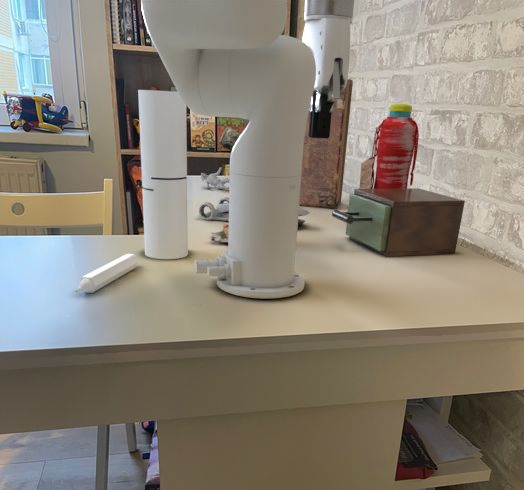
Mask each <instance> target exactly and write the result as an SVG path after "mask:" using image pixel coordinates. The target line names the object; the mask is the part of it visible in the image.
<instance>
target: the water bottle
mask: <svg viewBox="0 0 524 490" xmlns="http://www.w3.org/2000/svg"><path fill="white" fill-rule="evenodd" d="M412 111H413V106H412V105H410V104H408V103H399V102H398V103H393V104H390V106H389V115H388V116H386V118H385V119H383V120H382V121H381V123H380V124H379V125H378V126H377V127H375V128H374V129H375V132H374V136H373V144H372V150H371V156H370V157H369V158H367V159H366V160H364V161H363V162H361V163H360V172H359V173H360V175H359V188H358V189H408V183H409V186H411V187H412V186H413V184H414V183H413V182H414V171H415V169H416V162H417V158H418V157H417V156H418V149H419V138H420V133H419V126H418V123H417V122H416V121H415V120H414V119H413V117H411V115H412ZM375 161H376V169H375V168H374V167H375ZM411 165H412V166H411ZM410 169H411V171H410ZM409 177H410V180H409Z"/></svg>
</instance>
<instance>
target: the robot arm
mask: <svg viewBox="0 0 524 490" xmlns="http://www.w3.org/2000/svg"><path fill="white" fill-rule="evenodd" d="M140 5H141V12H142V16H143V20H144V24H145V27H146V30H147V32H148V35H149V37H150V39H151V41H152V44H153V46H154V48H155V50H156V51H157V54H158V55H159V57H160V59H161V62H162V64H163V65H164V68H165V69H166V72H167V73H168V75H169V77H170V79H171V82H172V84H173V85H174V88H175V89H176V92H178V93H179V95H180V97H181V98H182V100H183V102H184V103H185V104H186V108H188V109H189V110H190V111H192V112H193V113H195V114H197V115H201V116H205V117H218V118H236V119H242V120H243V119H248V120H250V121H249V123H248V125H247V127H246V128H245V130H244V131H242V133H240V137H239V138H238V140H237V141H236V143H235V145H234V147H233V149H232V152H231V151H230V156H229V179H230V183H228V185H229V186H228V187H229V190H228V198H229V221H228V224H229V236H228V242H227V243H228V244H227V245H228V246H227V250H222V251H221V252H222V253H221V256H216V258H215V259H207V258H206V259H194V262H193V269H194V270H193V271H194V273H195V275H199V274H200V275H201V274H207V277H208V278H211V277H216V285H217V287H218V288H219V289H220V290H222V291H224V292H226V293H228V294H231V295H234V296H237V297H243V298H251V299H263V300H265V299H267V300H268V299H270V300H271V299H282V298H289V297H291V296H295V295H298V294H299V293H301V292H302V291H303V290H304V289H305V283H306V282H305V278H304V277H303V276H302V275H301V274H299V273H297V272H295V270H296V258H297V257H296V256H297V255H296V254H297V244H298V243H297V242H298V228H299V224H298V219H299V216H298V215H299V207H300V206H299V200H300V186H301V171H302V157H303V146H304V138H305V130H306V124H307V118H308V114H309V110H310V111H311V112H310V119H309V133H308V136H309V137H311V138H329V136H330V125H331V114H332V112H333V107H334V101H336V100H338V99H339V98H340V91H342V90H343V89H344V88H345V87H346V84H347V79H349V71H350V58H351V57H350V56H351V25H352V24H353V18H354V9H355V0H304V14H303V22H304V27H303V32H302V37H301V40H300V39H299V38H296V37H293V36H290V35H286V34H283V32H284V30H285V28H286V24H287V22H288V0H140Z"/></svg>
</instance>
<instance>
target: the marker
mask: <svg viewBox="0 0 524 490" xmlns="http://www.w3.org/2000/svg"><path fill="white" fill-rule="evenodd" d="M138 264H139V259H138V258H137V256H136V254H133V253H125V254H123V255H122V256H119V257H117V258H115V259H114V260H112V261H110V262H108V263H106V264H104V265H102V266H100V267H99V268H96V269H95V270H92V271H90V272H89V273H87V274H85V275H83V276H81V278H80V280H79V282H78V287H77V288H76V290H75V293H82V292H83V293H88V294H93V293H94V292H96V291H98V290H100V289H102V288H103V287H105V286H107V285H108V284H110V283H112V282H114V281H115V280H117V279H119V278H121V277H122V276H124V275H125V274H127V273H130V272H131V271H133V270H134V269H136V268H137V266H138Z"/></svg>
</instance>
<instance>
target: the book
mask: <svg viewBox="0 0 524 490" xmlns="http://www.w3.org/2000/svg"><path fill="white" fill-rule="evenodd" d="M353 85H354V81H353V79H350V78H348V79H347V84H346V87H345V88H344V89H343V90H342V91H340V98H339V99H338V100H336V101H334V107H333V112H332V114H331V125H330V136H329V138H311V137H309V136H308V133H309V119H310V112H311V111H310V110H309V114H308V118H307V124H306V130H305V138H304V146H303V157H302V171H301V186H300V200H299V207H300V206H301V207H308V208H309V207H311V208H321V209H331V210H336V208H337V205H339V204H341V203H342V196H343V184H344V176H345V165H346V155H347V145H348V135H349V125H350V116H351V115H350V114H351V105H352V97H353V95H352V94H353V87H354V86H353ZM242 120H243V123H242V130H243V131H244V130H245V128H246V127H247V125H248V123H249V121H250V120H248V119H242ZM243 131H242V132H243Z"/></svg>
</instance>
